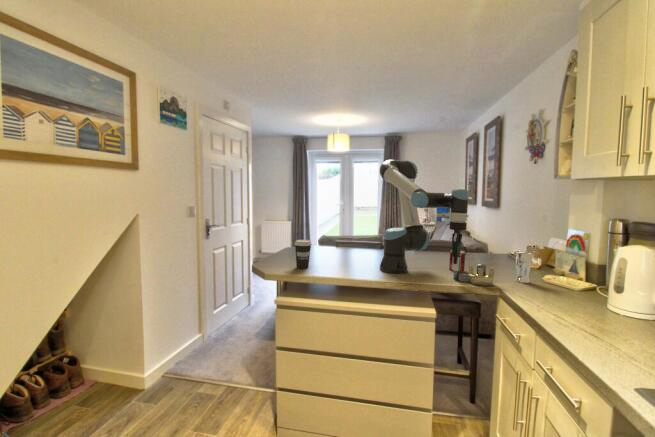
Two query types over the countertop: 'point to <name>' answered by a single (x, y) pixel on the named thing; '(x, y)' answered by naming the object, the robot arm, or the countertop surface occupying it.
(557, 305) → the countertop surface
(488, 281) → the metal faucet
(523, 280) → the beer glass
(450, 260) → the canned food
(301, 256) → the coffee cup
